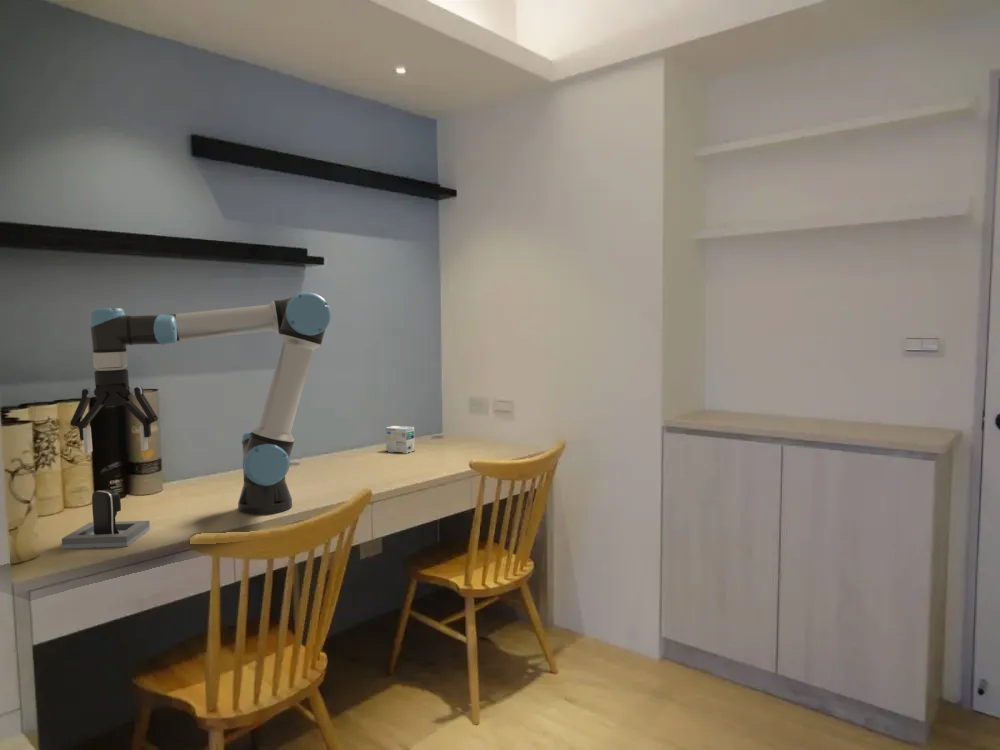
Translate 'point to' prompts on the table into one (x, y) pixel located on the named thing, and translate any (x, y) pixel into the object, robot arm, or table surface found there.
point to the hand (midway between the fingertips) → (116, 451)
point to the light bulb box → (400, 439)
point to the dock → (106, 535)
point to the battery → (105, 511)
